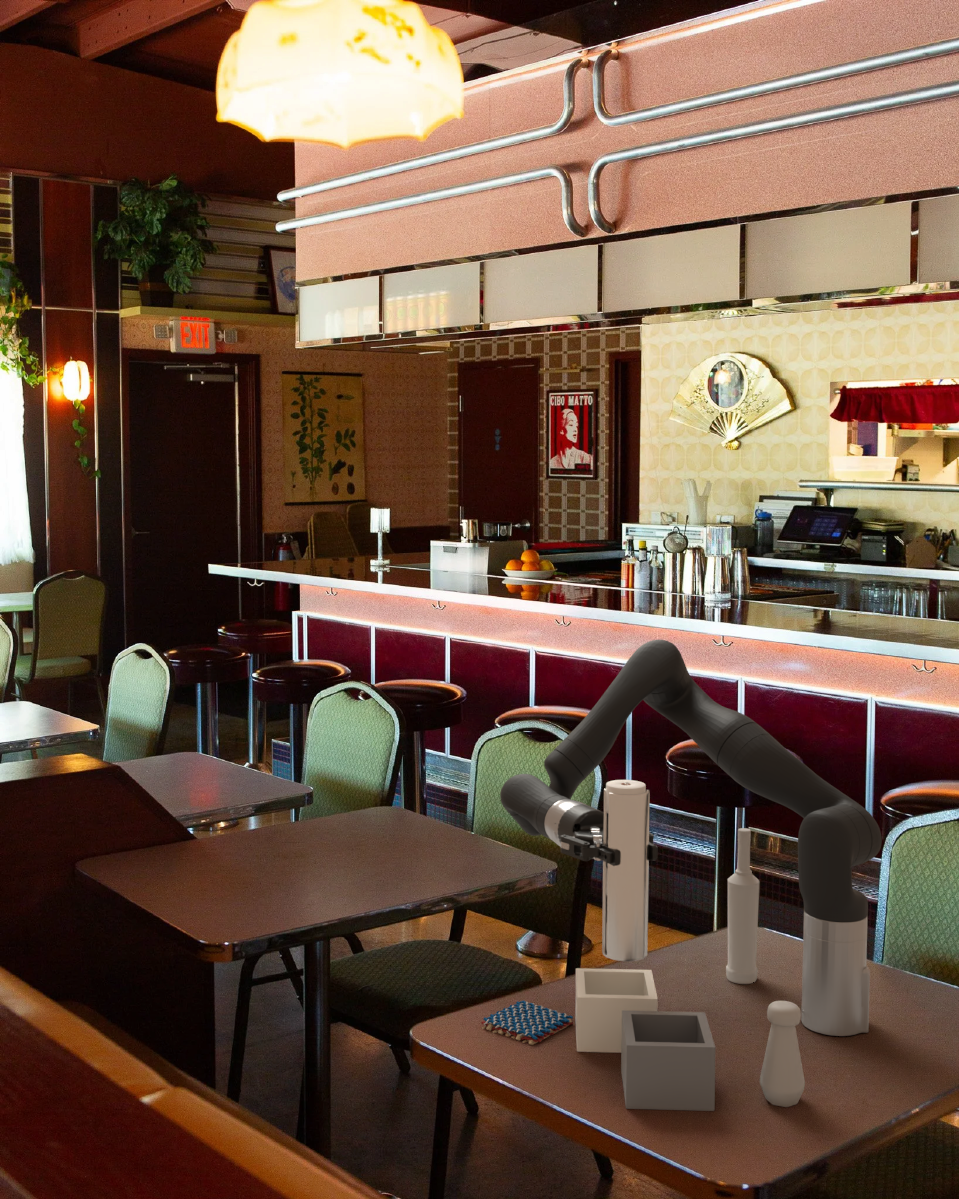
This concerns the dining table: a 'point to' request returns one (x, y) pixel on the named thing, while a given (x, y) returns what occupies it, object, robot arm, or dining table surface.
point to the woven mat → (527, 1022)
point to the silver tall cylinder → (626, 871)
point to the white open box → (609, 1005)
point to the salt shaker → (782, 1056)
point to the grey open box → (667, 1061)
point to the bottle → (742, 916)
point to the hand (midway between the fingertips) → (636, 856)
